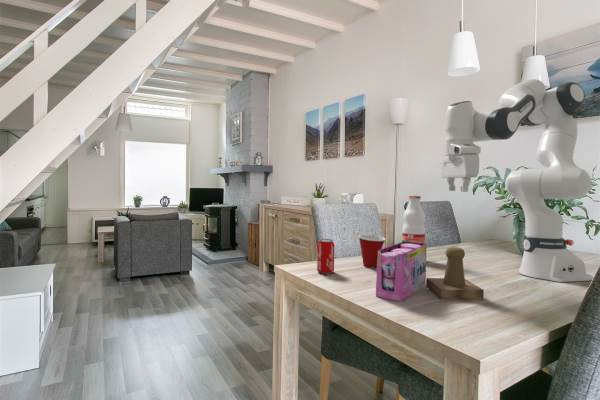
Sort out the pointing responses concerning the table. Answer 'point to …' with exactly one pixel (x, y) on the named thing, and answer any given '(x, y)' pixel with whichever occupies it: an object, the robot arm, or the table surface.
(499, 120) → the robot arm
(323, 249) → the soda can
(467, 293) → the walnut block
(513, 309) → the table surface
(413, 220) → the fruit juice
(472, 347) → the table surface
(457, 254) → the cork
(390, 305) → the table surface
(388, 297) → the gum box
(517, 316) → the table surface
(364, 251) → the plastic cup
